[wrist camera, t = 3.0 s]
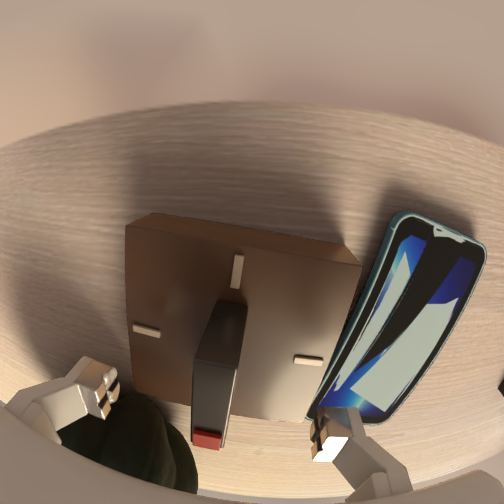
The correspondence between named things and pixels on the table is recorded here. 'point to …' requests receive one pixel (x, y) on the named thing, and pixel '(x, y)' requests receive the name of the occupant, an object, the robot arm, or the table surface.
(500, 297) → the table surface
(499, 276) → the table surface
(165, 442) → the squash
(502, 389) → the switch box
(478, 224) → the table surface
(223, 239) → the dial panel
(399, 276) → the smartphone
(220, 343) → the dial knob
